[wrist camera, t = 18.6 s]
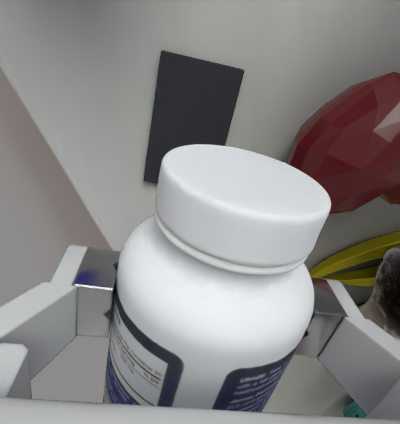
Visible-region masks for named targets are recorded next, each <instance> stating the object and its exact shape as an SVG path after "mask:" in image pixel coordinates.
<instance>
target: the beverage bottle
mask: <svg viewBox="0 0 400 424" xmlns="http://www.w3.org/2000/svg"><path fill="white" fill-rule="evenodd" d="M343 414H344V417H353V418H365V417H366V416H367V414H366V413H365V412H364V411H363V410H362V409H361V408H360V406H359V405H358V404H357V403H356V402H355V401H353V402H352V403H350V404H348V405H347V406H346V407H345V408H344V411H343Z"/></svg>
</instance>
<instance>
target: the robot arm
mask: <svg viewBox="0 0 400 424" xmlns="http://www.w3.org/2000/svg"><path fill="white" fill-rule="evenodd" d="M120 253H121V252H119V251H113V250H106V249H100V248H93V247H85V246H79V245H70V246H68V247H67V249H66V251H65V253H64V255H63V257H62V259H61V261H60V263H59V265H58V267H57V268H56V270H55V272H54V274H53V276H52V278H51V280H50V282H49V283H45V282H43V283H42V284H39V285H38V286H36V287H35V288H32V289H31V290H29V291H27V292H25V293H24V294H22V295H20V296H18V297H17V298H15V299H13V300H12V301H9V302H8V303H6V304H4V305H2V306H1V307H0V424H400V342H399V341H398V340H396V339H395V338H394V337H392V336H391V335H390V334H388V333H387V332H386V331H384V330H383V329H382V328H380V327H379V326H377V325H376V324H375V323H373V322H372V321H371V320H369V319H365V318H364V317H363V315H362V314H361V312H360V311H359V309H358V308H357V306H356V305H355V303H354V301H353V300H352V298H351V297H350V295H349V294H348V292H347V291H346V289H345V288H344V286H343V285H342V283H341V282H339V281H338V280H333V279H324V278H323V279H320V278H312V277H311V280H312V284H313V289H314V309H313V314H312V317H311V320H310V323H309V325H308V327H307V329H306V331H305V333H304V335H303V337H302V339H301V341H300V343H299V345H298V347H297V349H296V351H295V353H294V355H303V356H311V357H319V358H318V359H319V361H320V362H321V363H322V364H323V365H324V366H325V368H326V369H327V370H328V371H329V372H330V373H331V374H332V376H333V377H334V378H335V379H336V380H337V381H338V382H339V384H340V385H341V386H342V387H343V388H344V389H345V390H346V392H347V393H348V394H349V395H350V396H351V397H352V398H353V400H354V401H355V402H356V403H357V404H358V405H359V406H360V408H361V409H362V410H363V411H364V412H365V413H366V414H367V416H366V417H365V418H353V417H335V416H317V415H299V414H281V413H264V412H247V411H230V410H213V409H196V408H179V407H162V406H145V405H127V404H110V403H92V402H75V401H58V400H41V399H32V394H31V380H32V379H33V378H34V377H35V376H36V375H37V374H38V373H39V372H40V371H41V370H42V369H43V368H44V367H45V366H46V365H47V364H49V363H50V362H51V361H52V360H53V359H54V358H55V357H56V356H57V355H58V354H59V353H60V352H61V351H62V350H63V349H64V348H65V347H66V346H67V345H68V344H69V343H70V342H72V341H73V339H75V338H76V336H91V337H92V336H93V337H108V334H109V330H110V326H111V322H112V315H113V306H114V295H115V287H116V279H117V269H118V262H119V257H120Z"/></svg>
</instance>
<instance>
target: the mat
mask: <svg viewBox="0 0 400 424" xmlns="http://www.w3.org/2000/svg"><path fill="white" fill-rule="evenodd" d="M243 74H244V70H242V69H238V68H234V67H230V66H226V65H221V64H217V63H213V62H209V61H204V60H200V59H196V58H192V57H188V56H183V55H179V54H175V53H171V52H166V51H161V57H160V64H159V72H158V79H157V86H156V94H155V101H154V108H153V116H152V123H151V130H150V138H149V145H148V152H147V160H146V167H145V174H144V181H146V182H152V183H158V180H159V173H160V168H161V163H162V160H163V158H164V156H165V155H166V154H167V153H168V152H169V151H171V150H172V149H175V148H177V147H181V146H185V145H194V144H209V145H220V146H225V143H226V139H227V135H228V131H229V127H230V124H231V120H232V116H233V112H234V108H235V105H236V101H237V97H238V93H239V89H240V85H241V82H242V78H243Z"/></svg>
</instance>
